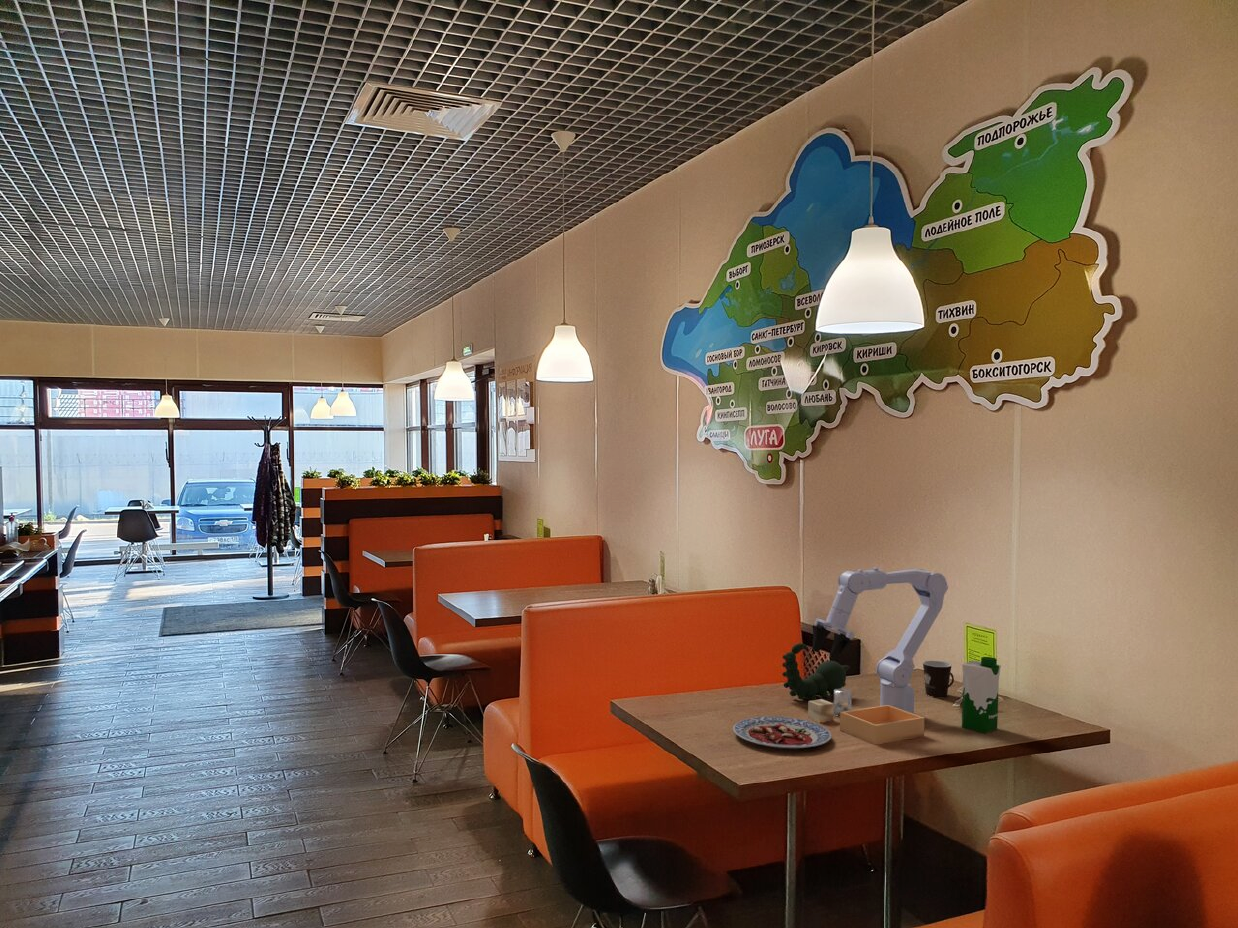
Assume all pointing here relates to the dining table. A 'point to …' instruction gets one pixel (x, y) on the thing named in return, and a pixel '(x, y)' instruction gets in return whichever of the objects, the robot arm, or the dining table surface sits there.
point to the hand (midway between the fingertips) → (823, 655)
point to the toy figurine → (813, 677)
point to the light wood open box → (882, 724)
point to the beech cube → (820, 710)
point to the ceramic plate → (782, 732)
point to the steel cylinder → (842, 701)
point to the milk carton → (980, 694)
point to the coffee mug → (937, 678)
